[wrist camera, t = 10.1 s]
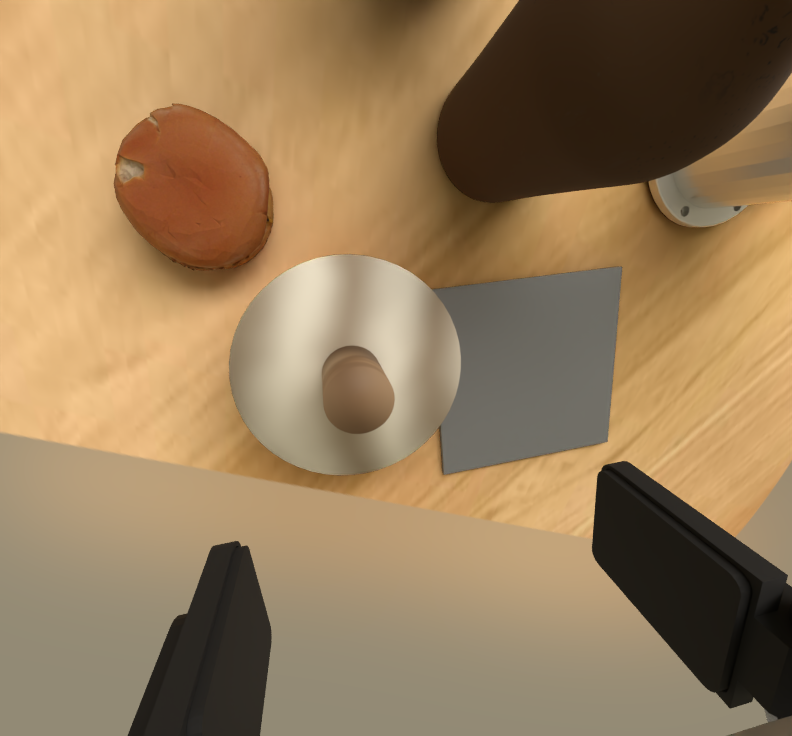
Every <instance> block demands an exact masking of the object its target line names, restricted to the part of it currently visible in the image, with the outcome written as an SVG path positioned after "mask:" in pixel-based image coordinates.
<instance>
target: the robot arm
mask: <svg viewBox="0 0 792 736" xmlns="http://www.w3.org/2000/svg"><path fill="white" fill-rule="evenodd" d="M649 187H650V191H651V193H652V196H653V198H654V201H655V203H656V204H657V206H658V207H659V209H660V210H661V212H662V213H663V214H664V215H665V216H666V217H667V218H668V219H670V220H672V221H673V222H675V223H677V224H679V225H682V226H686V227H708V226H715V225H718V224H721V223H724V222H726V221H728V220H729V219H731V218H733V217H735V216H736V215H738V214H739V213H740V212H741V211H742V210H744V209H745V208H746V207H747V206H748V205H753V204H763V203H774V202H784V201H792V73H791V75H790V76H789V77H788V79H787V80H786V82H785V83H784V85H783V86H782V87H781V89H780V90H779V91H778V93H777V94H776V95H775V97H774V98H773V99H772V100H771V102H770V103H769V104H768V105H767V106H766V107H765V108H764V110H763V111H762V112H761V113H760V114H759V115H758V116H757V117H756V118H755V119H754V120H753V121H752V122H751V123H750V124H749V125H748V126H747V127H746V128H744V129H743V130H742V131H741V132H740V133H739V134H737V135H736V136H735V137H734V138H732V139H731V140H730V141H728V142H727V143H725V144H724V145H723V146H721V147H720V148H718V149H716V150H715V151H713V152H712V153H710V154H708V155H707V156H705V157H703V158H702V159H700V160H698V161H696V162H694V163H693V164H691V165H689V166H687V167H685V168H683V169H681V170H679V171H677V172H674V173H672V174H669V175H667V176H664V177H661V178H658V179H654V180H651V181H649ZM592 552H593V555H594V558H595V560H596V561H597V563H598V564H599V565H600V567H601V568H602V569H603V570H604V571H605V572H606V573H607V575H608V576H609V577H610V578H611V579H612V580H613V582H614V583H615V584H616V585H617V586H618V587H619V588H620V590H621V591H622V592H623V593H624V594H625V595H626V597H627V598H628V599H629V600H630V601H631V602H632V603H633V605H634V606H635V607H636V608H637V609H638V610H639V611H640V613H641V614H642V615H643V616H644V617H645V618H646V620H647V621H648V622H649V623H650V624H651V625H652V626H653V628H654V629H655V630H656V631H657V632H658V633H659V635H660V636H661V637H662V638H663V639H664V640H665V641H666V643H667V644H668V645H669V646H670V647H671V649H672V650H673V651H674V652H675V653H676V654H677V655H678V657H679V658H680V659H681V660H682V661H683V662H684V664H685V665H686V666H687V667H688V668H689V669H690V670H691V672H692V673H693V674H694V675H695V676H696V677H697V678H698V680H699V681H700V682H701V683H702V684H703V685H704V686H705V687H706V688H707V689H708V690H710V691H712V692H716V693H717V694H718V695H719V697H720V698H721V699H722V700H723V701H724V702H725V703H726V705H727V706H728V707H729V708H734V707H737V706H740V705H743V704H746V703H749V702H752V700H753V697H754V698H755V699H756V700H757V701H758V702H759V703H760V704H761V706H762V707H763V708H764V709H765V713H766V717H767V721H768V723H766V724H762V725H759V726H756V727H753V728H750V729H747V730H743V731H741V732H737V733H734V734H731V735H728V736H792V587H791V586H790V585H788V584H787V583H786V580H787V577H788V575H787V574H785V573H784V572H782V571H781V570H780V569H778V568H777V567H775V566H774V565H772V564H771V563H770V562H768V561H767V560H766V559H764V558H763V557H761V556H760V555H759V554H757V553H756V552H754V551H753V550H751V549H750V548H749V547H747V546H746V545H745V544H743V543H742V542H740V541H739V540H737V539H736V538H735V537H733V536H732V535H731V534H729V533H728V532H726V531H725V530H723V529H722V528H721V527H719V526H718V525H716V524H715V523H714V522H712V521H711V520H709V519H708V518H707V517H705V516H704V515H702V514H701V513H700V512H698V511H697V510H695V509H694V508H692V507H691V506H690V505H688V504H687V503H685V502H684V501H683V500H681V499H680V498H678V497H677V496H676V495H674V494H673V493H671V492H670V491H669V490H667V489H666V488H664V487H663V486H662V485H660V484H659V483H657V482H656V481H654V480H653V479H652V478H650V477H649V476H647V475H646V474H645V473H643V472H642V471H640V470H639V469H638V468H636V467H635V466H633V465H632V464H631V463H629V462H627V461H622V462H617V463H612V464H607V465H604V466H603V468H602V470H601V472H599V473H598V476H597V489H596V502H595V515H594V529H593V544H592ZM270 649H271V626H270V622H269V619H268V615H267V611H266V608H265V604H264V601H263V597H262V594H261V590H260V586H259V583H258V579H257V575H256V572H255V569H254V565H253V561H252V558H251V554H250V550H249V547H248V546H242V547H241V545H240V543H239V542H238V541H235V542H230V543H225V544H220V545H215V546H213V547H212V548H211V550H210V552H209V555H208V558H207V561H206V564H205V566H204V569H203V572H202V575H201V577H200V580H199V583H198V586H197V589H196V591H195V594H194V597H193V600H192V602H191V605H190V608H189V611H188V613H187V614H183V615H179V616H177V617H176V618H175V619H174V621H173V623H172V625H171V627H170V629H169V632H168V634H167V637H166V639H165V642H164V644H163V647H162V649H161V652H160V655H159V657H158V660H157V662H156V665H155V667H154V670H153V672H152V675H151V678H150V680H149V683H148V685H147V688H146V690H145V693H144V695H143V698H142V700H141V703H140V706H139V708H138V711H137V713H136V716H135V718H134V721H133V723H132V726H131V728H130V731H129V734H128V736H260V730H261V722H262V714H263V706H264V698H265V689H266V681H267V673H268V665H269V657H270Z"/></svg>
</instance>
